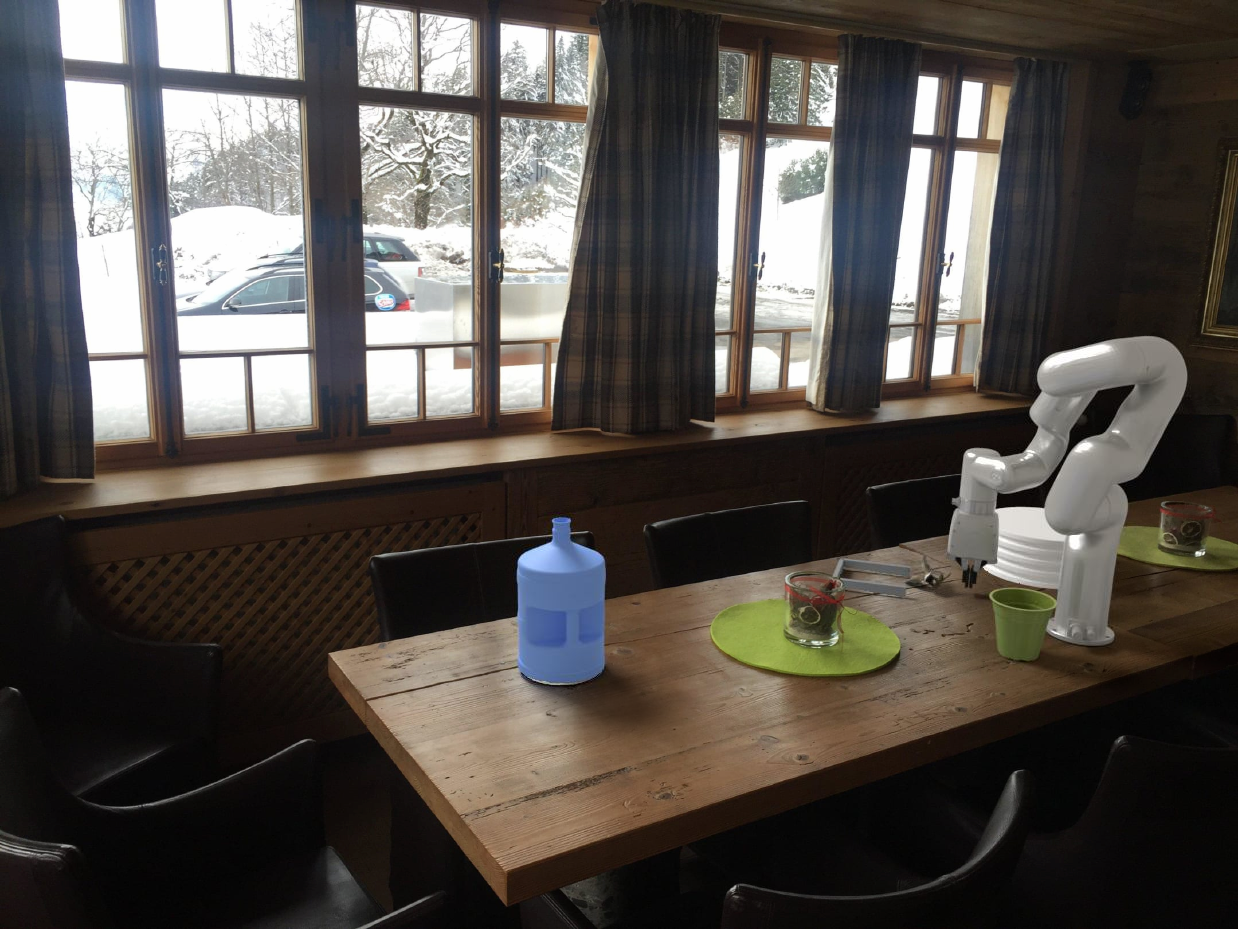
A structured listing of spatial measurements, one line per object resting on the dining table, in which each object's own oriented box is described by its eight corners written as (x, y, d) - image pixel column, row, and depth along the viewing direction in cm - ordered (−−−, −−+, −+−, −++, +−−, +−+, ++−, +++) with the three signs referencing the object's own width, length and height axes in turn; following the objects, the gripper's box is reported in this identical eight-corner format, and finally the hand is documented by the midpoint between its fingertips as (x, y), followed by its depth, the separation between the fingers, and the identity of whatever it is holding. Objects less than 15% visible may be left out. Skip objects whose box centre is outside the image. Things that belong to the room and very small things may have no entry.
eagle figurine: (955, 584, 223) (926, 565, 231) (949, 563, 219) (919, 545, 226) (930, 605, 222) (902, 585, 229) (923, 584, 218) (895, 565, 225)
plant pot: (990, 637, 198) (996, 583, 195) (1055, 650, 192) (1062, 595, 189) (977, 658, 188) (983, 601, 185) (1045, 673, 182) (1052, 615, 179)
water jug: (508, 657, 185) (506, 512, 179) (588, 646, 191) (589, 504, 184) (531, 694, 171) (530, 537, 164) (617, 680, 176) (619, 528, 170)
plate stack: (964, 549, 252) (968, 505, 250) (1077, 552, 251) (1082, 508, 249) (1001, 588, 225) (1006, 539, 222) (1127, 592, 224) (1134, 543, 221)
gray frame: (905, 598, 217) (906, 587, 217) (830, 589, 223) (831, 578, 222) (909, 576, 231) (910, 566, 231) (839, 568, 236) (840, 558, 236)
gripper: (940, 506, 215) (932, 587, 219) (1014, 514, 210) (1005, 596, 214) (941, 498, 221) (933, 576, 226) (1013, 505, 217) (1004, 585, 221)
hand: (968, 586), depth 220 cm, fingers closed
